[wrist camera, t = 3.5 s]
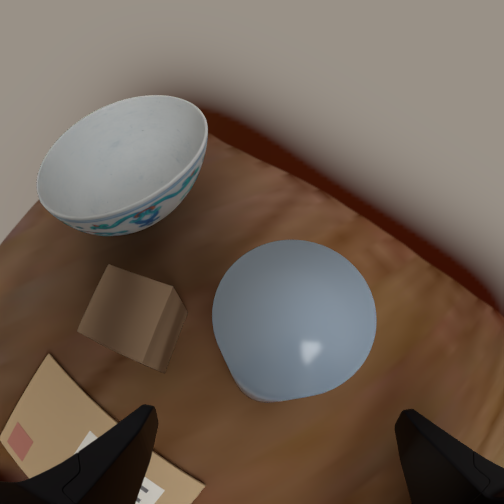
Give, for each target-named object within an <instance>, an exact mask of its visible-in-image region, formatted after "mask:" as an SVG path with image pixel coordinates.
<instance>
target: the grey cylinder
mask: <svg viewBox="0 0 504 504" xmlns="http://www.w3.org/2000/svg"><path fill="white" fill-rule="evenodd" d="M212 322H213V330H214V334H215V338H216V341H217V344H218V346H219V348H220V350H221V353H222V355H223V357H224V359H225V361H226V363H227V366H228V368H229V370H230V372H231V374H232V376H233V378H234V380H235V382H236V384H237V386H238V388H239V389H240V390H241V392H242V393H243V394H244V395H246V396H247V397H249V398H250V399H252V400H255V401H258V402H264V403H270V402H278V401H285V400H291V399H297V398H303V397H308V396H313V395H317V394H321V393H324V392H327V391H329V390H332V389H334V388H336V387H337V386H339V385H341V384H342V383H344V382H345V381H346V380H348V379H349V378H350V377H351V376H353V374H354V373H355V372H356V371H357V370H358V369H359V368H360V367H361V365H362V364H363V363H364V361H365V360H366V358H367V356H368V354H369V352H370V350H371V347H372V344H373V341H374V337H375V332H376V309H375V304H374V300H373V297H372V294H371V291H370V289H369V287H368V285H367V283H366V281H365V280H364V278H363V277H362V275H361V274H360V273H359V271H358V270H357V269H356V268H355V267H354V266H353V265H352V264H351V263H350V262H349V261H348V260H347V259H345V258H344V257H343V256H342V255H340V254H338V253H337V252H335V251H333V250H332V249H329V248H327V247H325V246H323V245H320V244H317V243H313V242H308V241H302V240H281V241H275V242H271V243H267V244H264V245H261V246H259V247H256V248H254V249H253V250H251V251H249V252H247V253H246V254H244V255H243V256H242V257H240V258H239V259H238V260H237V261H236V262H235V263H234V264H233V265H232V266H231V267H230V268H229V269H228V271H227V272H226V273H225V275H224V277H223V278H222V280H221V282H220V284H219V286H218V288H217V291H216V294H215V298H214V302H213V309H212Z"/></svg>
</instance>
